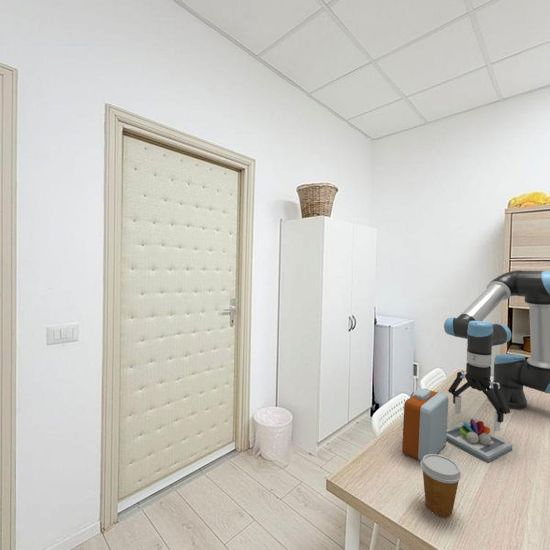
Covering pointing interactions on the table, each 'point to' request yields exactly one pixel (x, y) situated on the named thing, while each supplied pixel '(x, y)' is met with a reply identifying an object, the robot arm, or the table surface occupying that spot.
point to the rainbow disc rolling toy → (476, 432)
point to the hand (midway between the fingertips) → (476, 421)
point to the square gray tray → (478, 445)
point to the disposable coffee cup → (440, 483)
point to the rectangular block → (424, 423)
